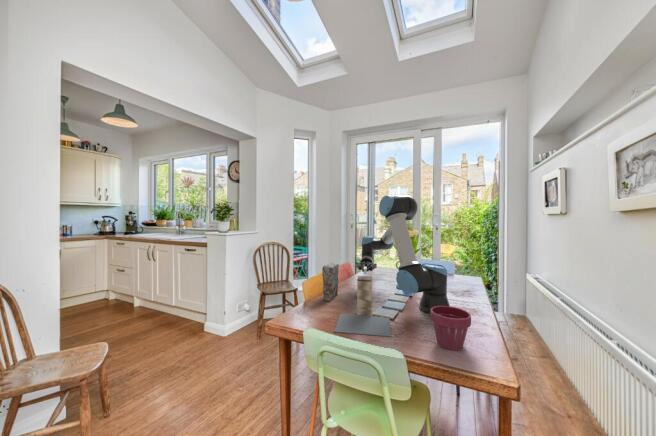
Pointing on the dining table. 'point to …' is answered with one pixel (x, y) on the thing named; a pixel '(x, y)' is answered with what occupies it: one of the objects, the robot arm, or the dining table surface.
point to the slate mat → (363, 325)
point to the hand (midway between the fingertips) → (365, 271)
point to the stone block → (330, 281)
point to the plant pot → (450, 326)
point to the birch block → (364, 295)
